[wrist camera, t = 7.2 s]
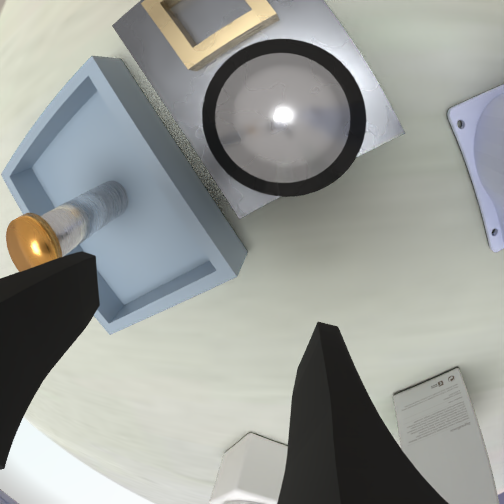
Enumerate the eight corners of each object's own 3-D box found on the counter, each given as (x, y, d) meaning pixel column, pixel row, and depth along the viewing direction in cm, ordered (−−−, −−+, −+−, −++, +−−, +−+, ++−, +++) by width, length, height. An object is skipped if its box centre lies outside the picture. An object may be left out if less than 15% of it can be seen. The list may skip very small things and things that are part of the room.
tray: (247, 252, 20) (236, 276, 17) (127, 311, 24) (109, 334, 22) (120, 58, 16) (91, 55, 13) (28, 163, 20) (1, 174, 17)
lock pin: (141, 187, 19) (55, 242, 12) (126, 231, 20) (49, 297, 13) (100, 164, 18) (7, 206, 11) (88, 208, 20) (5, 261, 13)
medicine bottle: (276, 471, 33) (259, 556, 22) (223, 453, 32) (195, 540, 22) (309, 451, 29) (295, 551, 19) (249, 430, 29) (222, 536, 18)
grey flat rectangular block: (401, 136, 15) (418, 143, 12) (246, 216, 19) (234, 237, 16) (260, -65, 11) (250, -90, 8) (122, 28, 15) (93, 21, 12)
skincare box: (391, 392, 23) (402, 568, 10) (462, 361, 21) (508, 534, 7) (412, 434, 26) (422, 571, 12) (472, 409, 23) (499, 546, 9)
